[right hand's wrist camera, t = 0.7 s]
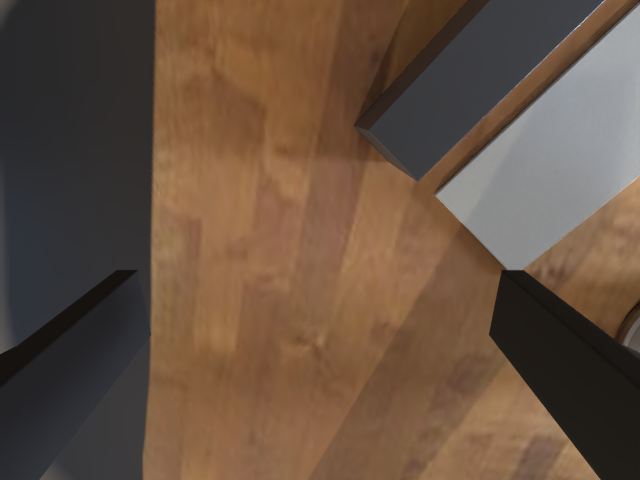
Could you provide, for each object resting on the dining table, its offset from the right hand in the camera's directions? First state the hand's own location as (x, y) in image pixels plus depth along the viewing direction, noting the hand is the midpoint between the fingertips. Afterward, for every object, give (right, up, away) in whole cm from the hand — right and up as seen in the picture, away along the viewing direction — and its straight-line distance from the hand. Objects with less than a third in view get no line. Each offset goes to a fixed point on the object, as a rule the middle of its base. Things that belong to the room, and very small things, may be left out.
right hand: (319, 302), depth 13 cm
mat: (+28, +15, +19) cm, 37 cm away
